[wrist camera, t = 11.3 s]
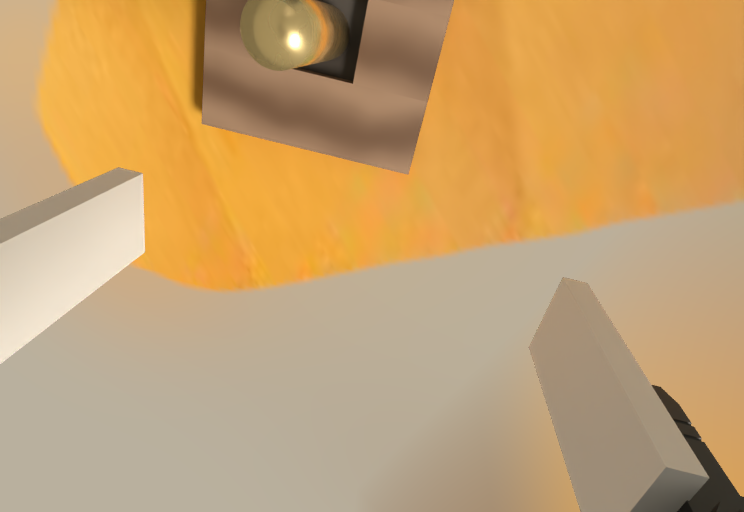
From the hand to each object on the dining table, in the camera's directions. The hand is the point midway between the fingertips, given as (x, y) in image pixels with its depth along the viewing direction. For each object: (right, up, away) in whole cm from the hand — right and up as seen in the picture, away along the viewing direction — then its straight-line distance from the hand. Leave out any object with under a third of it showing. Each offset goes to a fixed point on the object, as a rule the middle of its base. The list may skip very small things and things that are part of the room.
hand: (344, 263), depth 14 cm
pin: (-3, +18, +21) cm, 28 cm away
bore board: (-3, +18, +21) cm, 28 cm away
